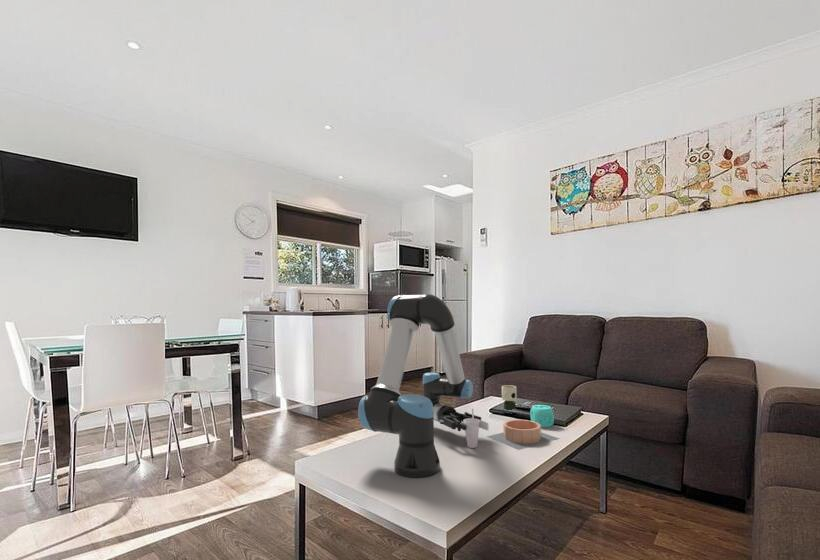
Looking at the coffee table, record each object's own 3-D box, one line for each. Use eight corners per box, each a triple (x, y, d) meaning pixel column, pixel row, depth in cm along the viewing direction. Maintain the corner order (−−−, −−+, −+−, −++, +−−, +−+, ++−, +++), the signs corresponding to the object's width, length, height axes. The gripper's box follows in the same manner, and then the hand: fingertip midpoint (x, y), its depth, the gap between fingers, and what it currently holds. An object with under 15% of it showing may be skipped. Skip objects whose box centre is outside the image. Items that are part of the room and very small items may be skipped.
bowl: (522, 446, 155) (522, 432, 155) (496, 436, 167) (496, 423, 167) (548, 439, 162) (548, 426, 162) (522, 429, 174) (521, 417, 174)
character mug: (512, 417, 195) (511, 389, 195) (498, 415, 199) (497, 387, 200) (521, 412, 203) (520, 385, 204) (507, 410, 208) (506, 383, 208)
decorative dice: (530, 422, 185) (530, 404, 186) (548, 422, 185) (547, 404, 185) (535, 428, 177) (534, 409, 178) (554, 428, 177) (553, 409, 177)
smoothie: (480, 449, 153) (479, 411, 154) (463, 448, 154) (462, 410, 155) (481, 443, 159) (479, 406, 160) (464, 443, 160) (463, 406, 161)
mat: (518, 451, 151) (518, 449, 151) (486, 437, 166) (486, 436, 166) (559, 439, 162) (559, 438, 162) (525, 428, 178) (525, 427, 178)
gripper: (463, 419, 177) (500, 433, 157) (425, 427, 168) (459, 443, 148) (462, 402, 178) (499, 413, 158) (424, 408, 168) (459, 422, 148)
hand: (480, 428), depth 153 cm, fingers closed on smoothie, 6 cm apart
